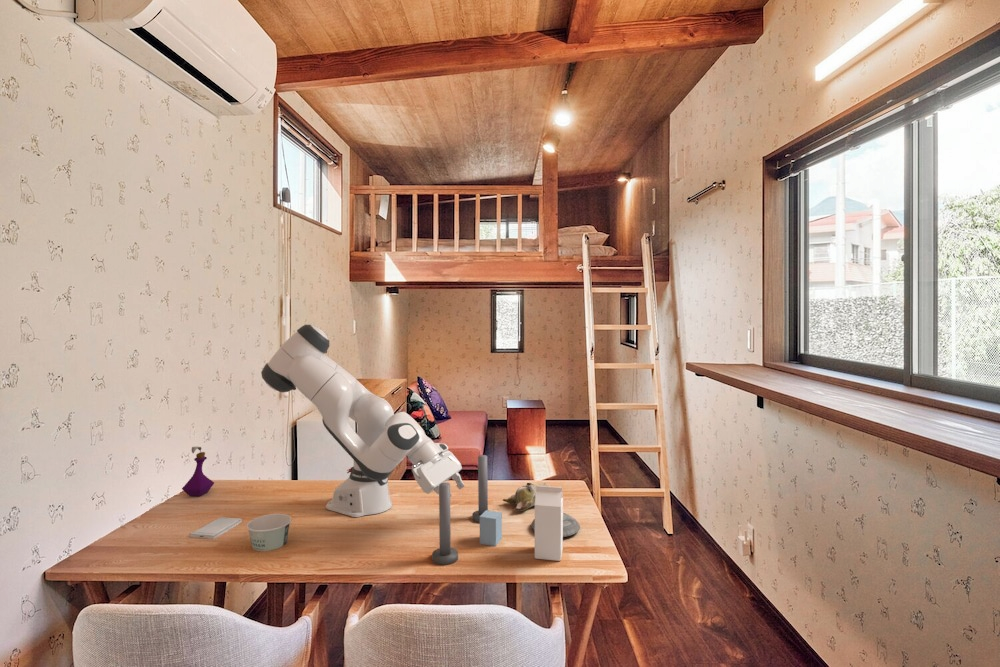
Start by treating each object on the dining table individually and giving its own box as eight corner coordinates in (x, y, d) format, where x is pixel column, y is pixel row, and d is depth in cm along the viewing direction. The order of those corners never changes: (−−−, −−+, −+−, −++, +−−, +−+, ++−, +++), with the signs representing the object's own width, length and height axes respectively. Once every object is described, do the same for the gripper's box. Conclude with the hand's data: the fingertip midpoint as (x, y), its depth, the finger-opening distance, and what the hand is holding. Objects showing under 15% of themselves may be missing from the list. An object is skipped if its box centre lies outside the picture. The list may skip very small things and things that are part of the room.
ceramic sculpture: (553, 483, 171) (514, 492, 165) (555, 508, 172) (516, 518, 166) (538, 474, 181) (500, 483, 175) (539, 498, 181) (502, 507, 175)
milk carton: (560, 561, 135) (561, 492, 135) (534, 559, 137) (534, 490, 136) (562, 549, 142) (563, 483, 142) (537, 547, 144) (537, 481, 143)
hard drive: (219, 516, 163) (189, 533, 151) (241, 518, 161) (213, 535, 149) (219, 521, 163) (189, 538, 151) (242, 523, 162) (213, 540, 149)
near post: (427, 562, 135) (426, 487, 134) (439, 550, 142) (438, 479, 141) (451, 567, 133) (450, 490, 132) (462, 554, 139) (461, 481, 138)
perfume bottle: (196, 490, 190) (195, 443, 189) (214, 491, 189) (213, 443, 188) (181, 497, 182) (180, 448, 182) (200, 498, 181) (198, 449, 181)
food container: (237, 552, 141) (236, 529, 141) (263, 533, 153) (262, 512, 153) (277, 554, 140) (276, 531, 139) (300, 535, 151) (299, 514, 151)
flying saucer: (589, 530, 155) (589, 512, 155) (559, 546, 145) (559, 527, 145) (551, 516, 166) (551, 500, 166) (521, 530, 155) (521, 513, 155)
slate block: (479, 543, 146) (479, 516, 146) (486, 536, 151) (485, 510, 150) (495, 546, 144) (495, 518, 144) (501, 538, 149) (501, 512, 149)
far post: (469, 521, 161) (468, 458, 160) (477, 513, 168) (476, 452, 167) (489, 524, 159) (488, 460, 158) (497, 515, 166) (496, 454, 165)
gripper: (415, 460, 143) (447, 498, 140) (448, 442, 162) (476, 475, 159) (402, 473, 144) (432, 512, 141) (435, 454, 164) (463, 488, 161)
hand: (456, 492), depth 150 cm, fingers open, 8 cm apart
